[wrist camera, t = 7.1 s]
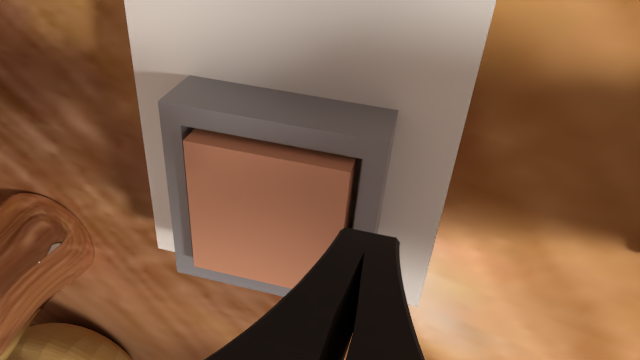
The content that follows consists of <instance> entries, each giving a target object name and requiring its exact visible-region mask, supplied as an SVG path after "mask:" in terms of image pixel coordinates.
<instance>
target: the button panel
mask: <svg viewBox="0 0 640 360" xmlns="http://www.w3.org/2000/svg"><path fill="white" fill-rule="evenodd" d="M495 3H496V0H124V4H125V12H126V19H127V26H128V33H129V40H130V48H131V55H132V62H133V69H134V77H135V84H136V91H137V98H138V105H139V113H140V120H141V127H142V134H143V141H144V149H145V156H146V163H147V170H148V177H149V185H150V192H151V199H152V206H153V214H154V221H155V228H156V235H157V242H158V248H160V249H164V250H169V251H173V252H175V256H176V264H177V272H180V273H185V274H189V275H193V276H197V277H202V278H206V279H210V280H214V281H219V282H223V283H227V284H232V285H236V286H240V287H244V288H249V289H253V290H257V291H262V292H266V293H270V294H274V295H279V296H283V297H284V296H285V295H286V294H287V293H288V292H289V291H290V290H291V289H290V288H286V287H282V286H277V285H273V284H269V283H264V282H260V281H256V280H251V279H247V278H243V277H238V276H234V275H230V274H225V273H221V272H217V271H212V270H208V269H204V268H199V267H195V266H194V259H193V248H192V237H191V226H190V214H189V203H188V192H187V181H186V170H185V159H184V147H183V140H184V139H185V138H186V137H187V136H188V135H189V134H190V133H191V132H192V131H193V130H194V129H195V128H198V129H203V130H209V131H214V132H219V133H225V134H230V135H236V136H241V137H246V138H252V139H257V140H263V141H268V142H273V143H279V144H284V145H290V146H295V147H300V148H306V149H311V150H317V151H322V152H327V153H333V154H338V155H344V156H349V157H354V158H360V159H362V160H361V167H360V174H359V182H358V189H357V196H356V204H355V211H354V219H353V226H352V229H356V230H361V231H366V232H371V233H376V234H381V235H386V236H391V237H396V238H397V239H398V241H399V242H400V248H399V250H400V267H401V274H402V280H403V286H404V291H405V295H406V299H407V304H408V305H411V306H415V307H418V305H419V301H420V298H421V294H422V290H423V286H424V282H425V278H426V274H427V270H428V266H429V262H430V258H431V254H432V251H433V247H434V243H435V239H436V235H437V231H438V227H439V223H440V219H441V215H442V211H443V207H444V203H445V200H446V196H447V192H448V188H449V184H450V180H451V176H452V172H453V168H454V164H455V160H456V156H457V152H458V149H459V145H460V141H461V137H462V133H463V129H464V125H465V121H466V117H467V113H468V109H469V105H470V102H471V98H472V94H473V90H474V86H475V82H476V78H477V74H478V70H479V66H480V62H481V58H482V54H483V51H484V47H485V43H486V39H487V35H488V31H489V27H490V23H491V19H492V15H493V11H494V7H495Z"/></svg>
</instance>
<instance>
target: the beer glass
mask: <svg viewBox="0 0 640 360" xmlns="http://www.w3.org/2000/svg"><path fill="white" fill-rule="evenodd" d="M93 257H94V249H93V244H92V241H91V238H90V236H89V234H88V232H87V231H86V229H85V228H84V226H83V225H82V224H81V222H80V221H79V220H78V219H77V218H76V217H75V216H74V215H73V214H72V213H71V212H70V211H68V210H67V209H66V208H65V207H63V206H62V205H60V204H59V203H57V202H55V201H53V200H51V199H49V198H47V197H44V196H41V195H37V194H32V193H16V194H13V195H11V196H9V197H7V198H5V199H4V200H3V201H2V202H1V203H0V360H7V359H8V358H9V356H10V355H11V353H12V352H13V350H14V348H15V347H16V345H17V344H18V342H19V340H20V339H21V337H22V336H23V334H24V333H25V331H26V330H27V328H28V327H29V325H30V324H31V322H32V321H33V319H34V318H35V317H36V315H37V314H38V313H39V312H40V311H41V309H42V308H43V307H44V306H45V305H46V304H47V303H48V302H49V301H50V300H51V299H52V298H53V297H54V296H55V295H56V294H57V293H58V292H60V291H61V290H62V289H63V288H65V287H66V286H67V285H69V284H70V283H71V282H73V281H74V280H75V279H77V278H78V277H79V276H81V275H82V274H83V273H84V272H85V271H86V270H87V269H88V268H89V267H90V265H91V263H92V261H93Z"/></svg>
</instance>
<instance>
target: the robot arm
mask: <svg viewBox="0 0 640 360" xmlns="http://www.w3.org/2000/svg"><path fill="white" fill-rule="evenodd" d="M399 248H400V242H399V241H398V239H397V238H396V237H391V236H386V235H381V234H376V233H371V232H366V231H361V230H356V229H351V228H346V227H345V228H343V229H342V230H340V231H339V233H338V235H337V236H336V238H335V239H334V241H333V242H332V243H331V245H330V246H329V248H328V249H327V250H326V251H325V253H324V254H323V255H322V256H321V258H320V259H319V260H318V261H317V262H316V264H315V265H314V266H313V267H312V268H311V269H310V270H309V271H308V273H307V274H306V275H305V276H304V277H303V278H302V279H301V280H300V281H299V282H298V284H297V285H296V286H295V287H294V288H292V289H291V290H290V291H289V292H288V293H287V294H286V295H285V296H284V297H283V298H282V299H281V300H280V301H279V302H278V303H277V304H276V305H275V306H274V307H273V308H272V309H271V310H269V311H268V312H267V313H266V314H265V315H264V316H263V317H261V318H260V319H259V320H258V321H257V322H255V323H254V324H253V325H252V326H250V327H249V328H248V329H247V330H245V331H244V332H243V333H242V334H240V335H239V336H237V337H236V338H235V339H233V340H232V341H231V342H229V343H228V344H227V345H225V346H224V347H222V348H221V349H220V350H218V351H217V352H215V353H214V354H212V355H211V356H209V357H208V358H206V359H205V360H344V357H345V354H346V351H347V348H348V345H349V342H350V339H351V336H352V339H351V343H350V346H349V350H348V354H347V358H346V360H425V359H424V356H423V353H422V351H421V348H420V345H419V342H418V339H417V336H416V332H415V329H414V326H413V323H412V319H411V316H410V312H409V308H408V304H407V299H406V295H405V291H404V286H403V280H402V274H401V267H400V250H399ZM352 333H353V335H352Z"/></svg>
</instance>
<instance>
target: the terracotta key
mask: <svg viewBox="0 0 640 360" xmlns="http://www.w3.org/2000/svg"><path fill="white" fill-rule="evenodd" d="M183 147H184V159H185V170H186V181H187V192H188V203H189V214H190V226H191V237H192V248H193V259H194V266H195V267H199V268H204V269H208V270H212V271H217V272H221V273H225V274H230V275H234V276H238V277H243V278H247V279H251V280H256V281H260V282H264V283H269V284H273V285H277V286H282V287H286V288H290V289H292V288H294V287H295V286H296V285H297V284H298V282H299V281H300V280H301V279H302V278H303V277H304V276H305V275H306V274H307V273H308V271H309V270H310V269H311V268H312V267H313V266H314V265H315V264H316V262H317V261H318V260H319V259H320V258H321V256H322V255H323V254H324V253H325V251H326V250H327V249H328V248H329V246H330V245H331V243H332V242H333V241H334V239H335V238H336V236H337V235H338V233H339V231H340V230H342V229H343V228H345V227H346V228H351V229H352V226H353V219H354V211H355V204H356V196H357V189H358V182H359V174H360V167H361V160H362V159H360V158H354V157H349V156H344V155H338V154H333V153H327V152H322V151H317V150H311V149H306V148H300V147H295V146H290V145H284V144H279V143H273V142H268V141H263V140H257V139H252V138H246V137H241V136H236V135H230V134H225V133H219V132H214V131H209V130H203V129H198V128H195V129H194V130H193V131H192V132H191V133H190V134H189V135H188V136H187V137H186V138H185V139H184V140H183Z"/></svg>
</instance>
